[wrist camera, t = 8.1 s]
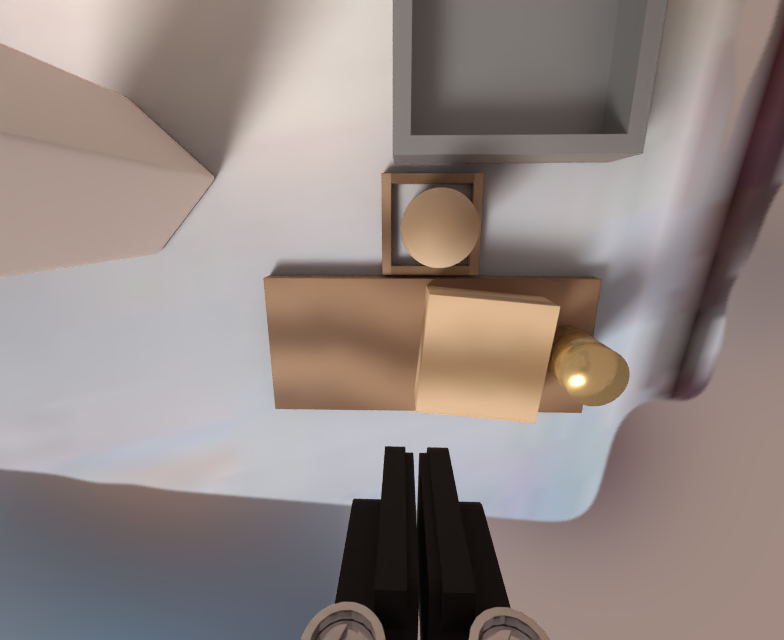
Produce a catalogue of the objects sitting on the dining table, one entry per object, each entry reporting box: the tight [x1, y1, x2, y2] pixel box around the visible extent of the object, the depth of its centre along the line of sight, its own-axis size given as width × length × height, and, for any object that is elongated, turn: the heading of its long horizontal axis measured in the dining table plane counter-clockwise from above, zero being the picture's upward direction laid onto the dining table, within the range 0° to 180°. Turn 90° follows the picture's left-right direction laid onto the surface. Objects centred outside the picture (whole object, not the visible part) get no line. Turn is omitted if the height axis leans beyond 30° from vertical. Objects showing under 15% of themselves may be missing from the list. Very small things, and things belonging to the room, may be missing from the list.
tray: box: [393, 0, 668, 163], centre depth 21 cm, size 14×14×4 cm
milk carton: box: [0, 43, 214, 278], centre depth 16 cm, size 7×7×19 cm
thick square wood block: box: [414, 286, 560, 423], centre depth 25 cm, size 8×8×3 cm
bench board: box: [264, 276, 601, 413], centre depth 28 cm, size 10×23×1 cm, turn 90°
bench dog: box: [547, 325, 629, 406], centre depth 24 cm, size 4×4×5 cm
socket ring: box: [382, 173, 484, 275], centre depth 26 cm, size 7×7×1 cm
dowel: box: [401, 187, 480, 268], centre depth 23 cm, size 4×4×7 cm
